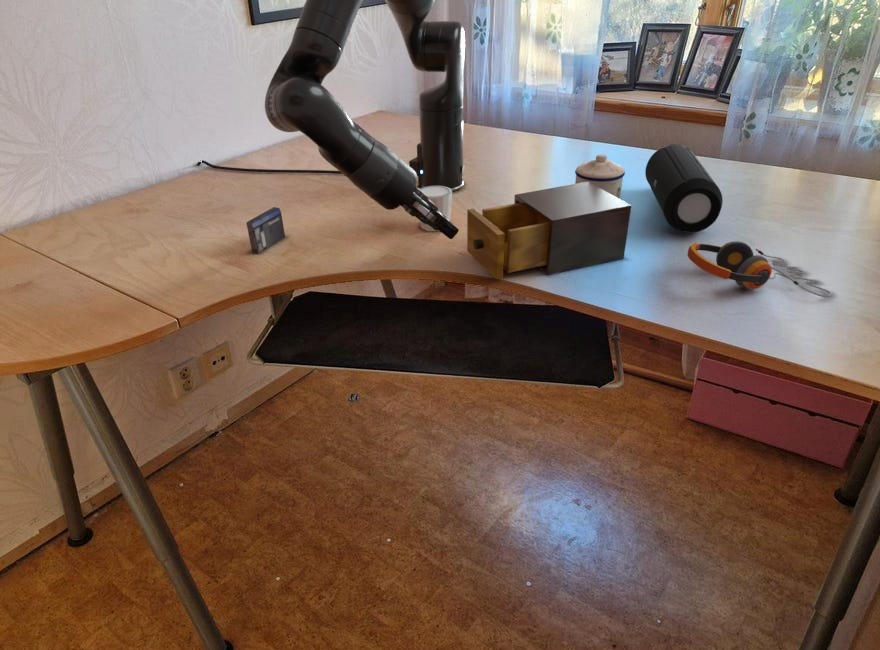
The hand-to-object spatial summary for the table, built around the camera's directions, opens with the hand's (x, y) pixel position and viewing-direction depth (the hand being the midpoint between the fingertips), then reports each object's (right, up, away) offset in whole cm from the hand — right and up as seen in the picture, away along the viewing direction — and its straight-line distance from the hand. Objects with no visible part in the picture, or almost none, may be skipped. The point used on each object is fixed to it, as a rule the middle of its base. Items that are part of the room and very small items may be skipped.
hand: (453, 233), depth 111 cm
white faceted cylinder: (-2, +5, +18) cm, 18 cm away
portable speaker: (+45, +8, +17) cm, 49 cm away
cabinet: (+20, -2, +5) cm, 21 cm away
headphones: (+46, -9, -7) cm, 48 cm away
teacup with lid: (+30, +8, +19) cm, 36 cm away
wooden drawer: (+11, -4, +2) cm, 11 cm away
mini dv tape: (-34, 0, +14) cm, 37 cm away
